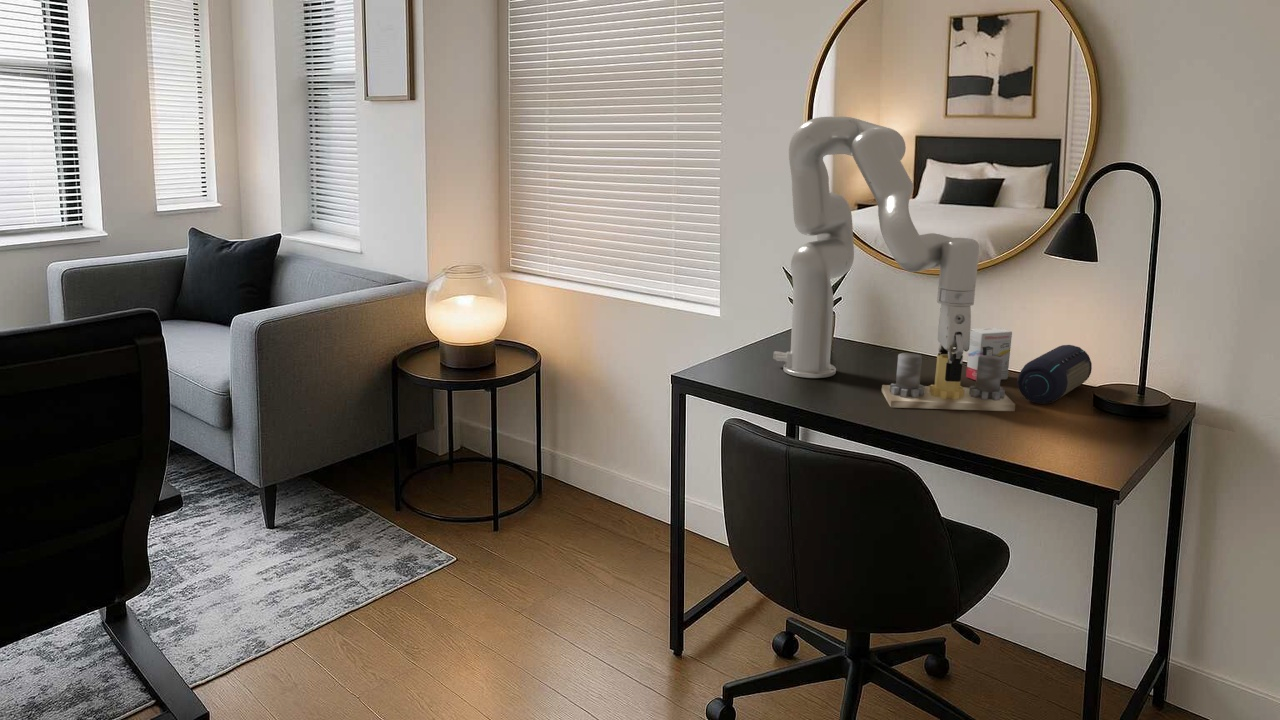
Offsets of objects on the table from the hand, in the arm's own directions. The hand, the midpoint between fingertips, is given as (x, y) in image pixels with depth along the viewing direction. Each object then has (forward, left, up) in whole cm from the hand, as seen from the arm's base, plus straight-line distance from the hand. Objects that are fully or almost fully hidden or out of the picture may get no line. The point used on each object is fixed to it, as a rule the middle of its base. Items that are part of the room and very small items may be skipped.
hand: (948, 375), depth 212 cm
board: (0, 0, -6) cm, 6 cm away
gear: (0, 0, -4) cm, 4 cm away
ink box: (+7, +23, -6) cm, 25 cm away
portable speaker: (+22, +16, -6) cm, 28 cm away
